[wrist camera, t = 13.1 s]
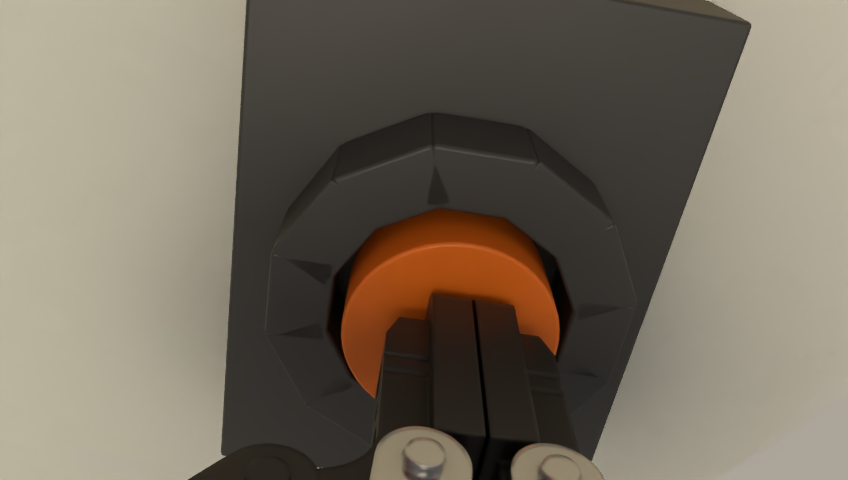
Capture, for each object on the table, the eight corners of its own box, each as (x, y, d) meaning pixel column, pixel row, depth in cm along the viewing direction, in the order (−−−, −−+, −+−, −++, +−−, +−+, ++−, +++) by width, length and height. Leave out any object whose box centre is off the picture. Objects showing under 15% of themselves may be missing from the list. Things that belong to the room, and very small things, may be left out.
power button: (521, 380, 16) (531, 436, 15) (338, 355, 16) (328, 410, 14) (568, 217, 14) (586, 261, 13) (362, 185, 14) (354, 226, 12)
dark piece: (563, 439, 21) (592, 561, 17) (239, 397, 20) (200, 515, 16) (711, 1, 15) (800, 46, 12) (272, -79, 14) (224, -55, 11)
